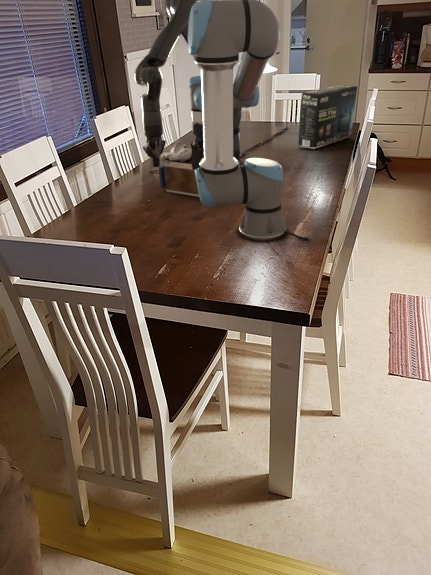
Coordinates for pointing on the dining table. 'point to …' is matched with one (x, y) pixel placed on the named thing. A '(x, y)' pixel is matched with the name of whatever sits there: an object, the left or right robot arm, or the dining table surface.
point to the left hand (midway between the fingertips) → (156, 166)
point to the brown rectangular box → (180, 179)
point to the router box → (326, 115)
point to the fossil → (178, 153)
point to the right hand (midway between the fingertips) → (205, 183)
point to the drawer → (162, 175)
